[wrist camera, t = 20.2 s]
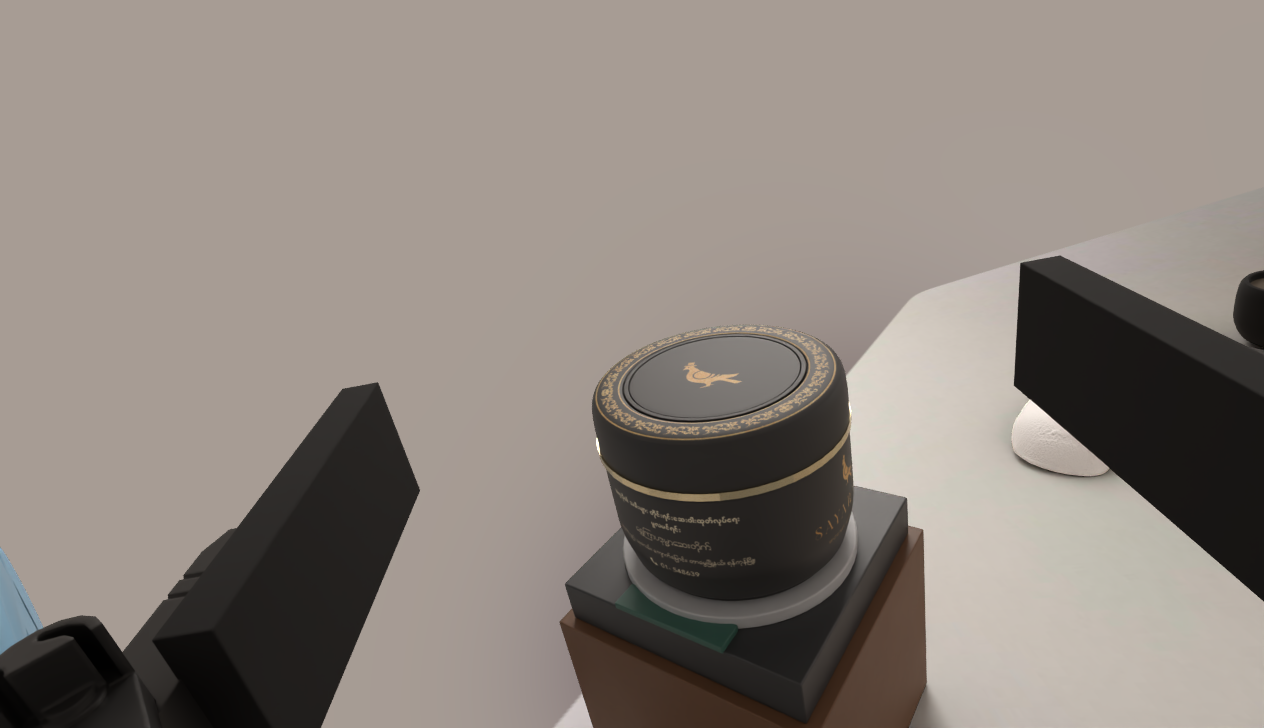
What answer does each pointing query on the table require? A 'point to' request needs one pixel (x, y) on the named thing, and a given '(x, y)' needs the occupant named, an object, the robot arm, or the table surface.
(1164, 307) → the robot arm
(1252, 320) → the mug
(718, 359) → the jar
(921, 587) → the scale
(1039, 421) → the computer mouse
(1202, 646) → the table surface
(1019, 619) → the table surface
